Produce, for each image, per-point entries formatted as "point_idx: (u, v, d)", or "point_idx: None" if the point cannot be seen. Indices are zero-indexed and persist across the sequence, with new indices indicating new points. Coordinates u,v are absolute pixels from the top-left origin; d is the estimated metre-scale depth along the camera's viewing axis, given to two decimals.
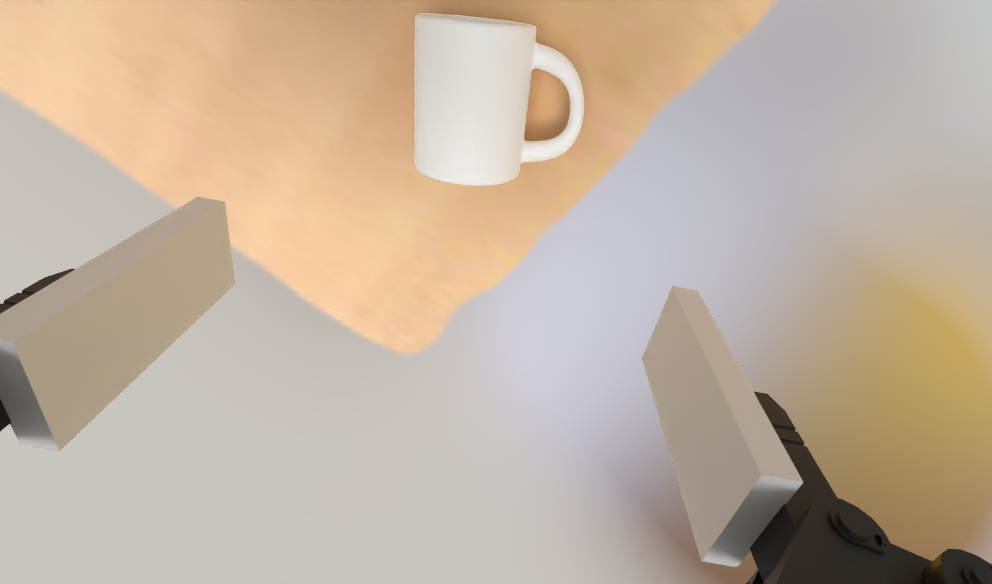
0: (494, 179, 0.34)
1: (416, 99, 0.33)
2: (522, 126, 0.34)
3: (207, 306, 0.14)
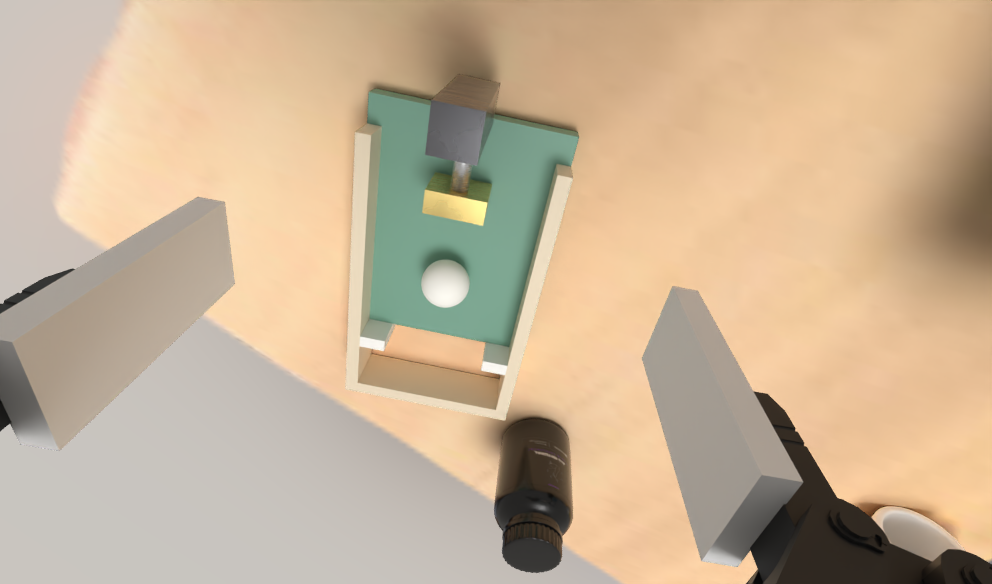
0: None
1: None
2: None
3: (207, 306, 0.14)
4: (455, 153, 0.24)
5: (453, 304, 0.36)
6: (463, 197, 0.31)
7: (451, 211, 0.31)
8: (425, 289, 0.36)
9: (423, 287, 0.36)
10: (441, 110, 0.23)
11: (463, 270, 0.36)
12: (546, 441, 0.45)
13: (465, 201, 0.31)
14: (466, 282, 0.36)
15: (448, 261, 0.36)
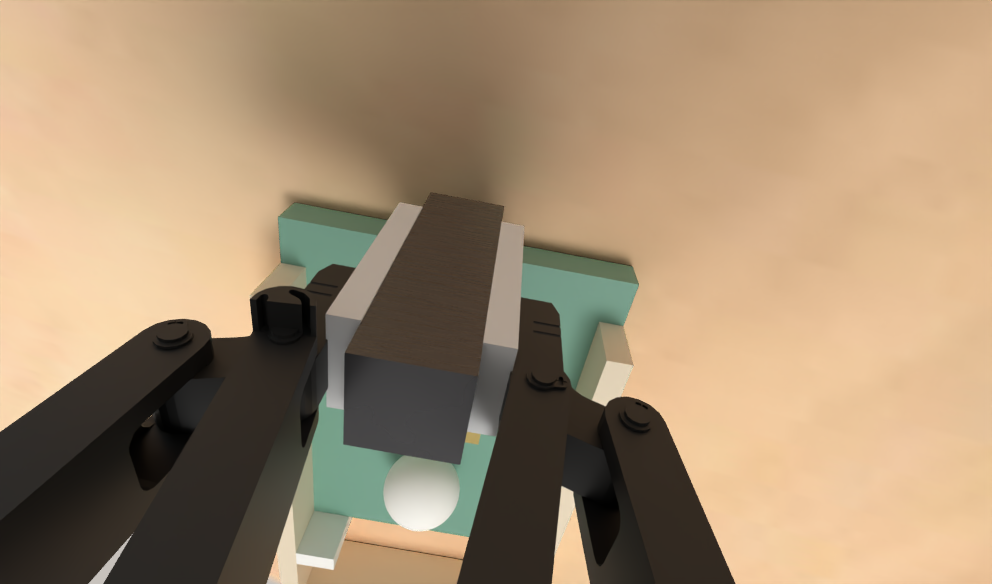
0: None
1: None
2: None
3: None
4: (410, 443, 0.11)
5: (434, 527, 0.23)
6: None
7: None
8: (389, 509, 0.22)
9: (386, 504, 0.23)
10: (371, 372, 0.10)
11: (449, 473, 0.23)
12: None
13: None
14: (455, 493, 0.23)
15: (425, 460, 0.23)
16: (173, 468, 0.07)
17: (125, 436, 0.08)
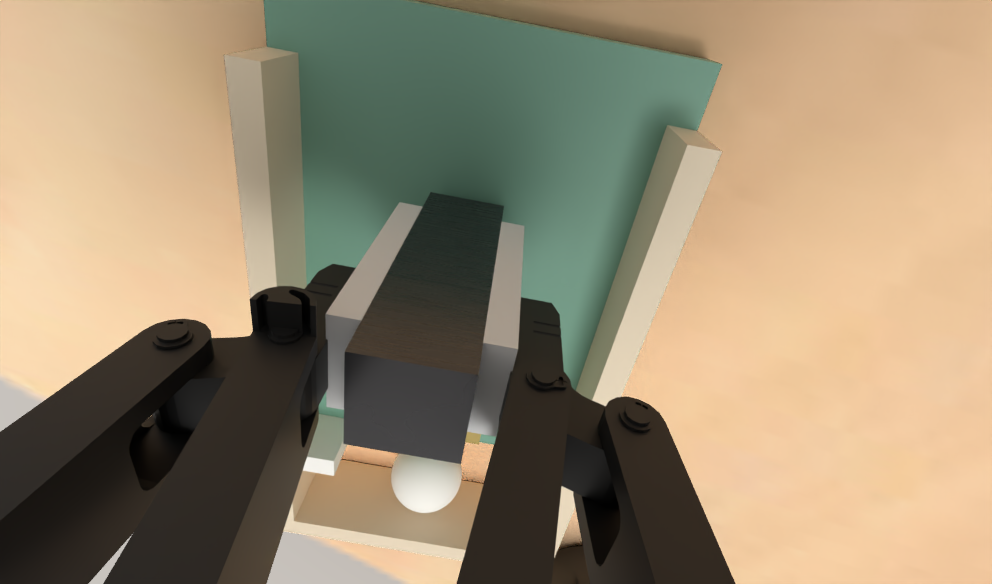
0: None
1: None
2: None
3: None
4: (410, 442, 0.11)
5: (443, 481, 0.24)
6: None
7: None
8: (403, 458, 0.24)
9: (399, 460, 0.24)
10: (371, 371, 0.10)
11: None
12: None
13: None
14: None
15: None
16: (172, 468, 0.07)
17: (125, 436, 0.08)
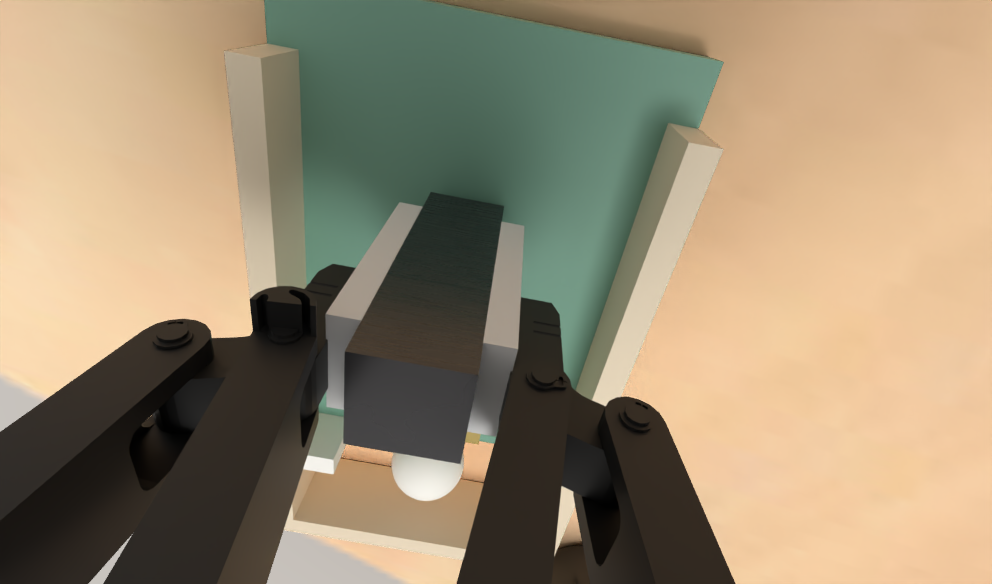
0: None
1: None
2: None
3: None
4: (410, 442, 0.11)
5: None
6: None
7: None
8: None
9: None
10: (371, 370, 0.10)
11: None
12: None
13: None
14: None
15: None
16: (172, 468, 0.07)
17: (125, 436, 0.08)
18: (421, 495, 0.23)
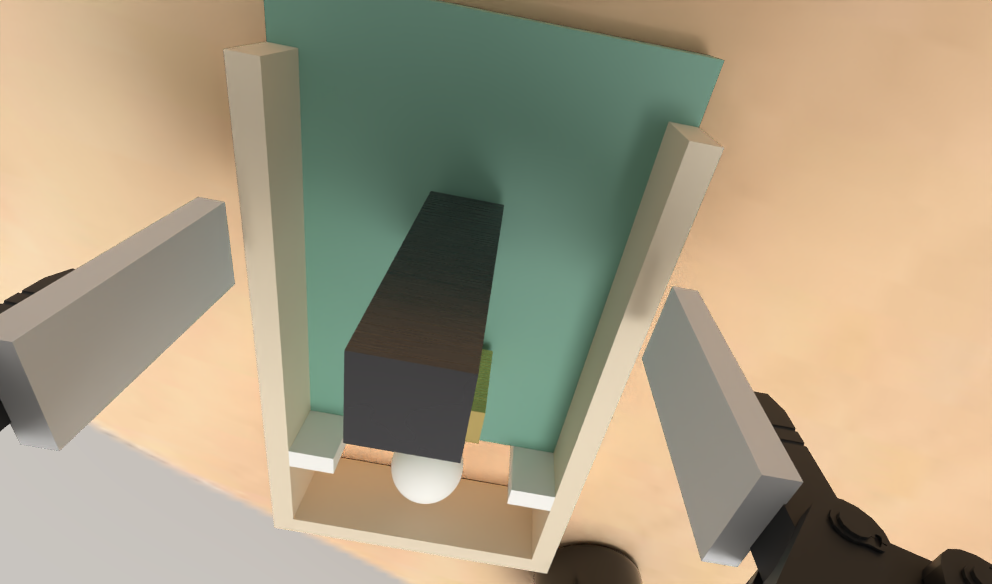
0: None
1: None
2: None
3: (207, 306, 0.14)
4: (409, 442, 0.11)
5: (445, 466, 0.23)
6: None
7: None
8: None
9: None
10: (371, 369, 0.10)
11: None
12: None
13: None
14: None
15: None
16: None
17: None
18: (420, 501, 0.24)
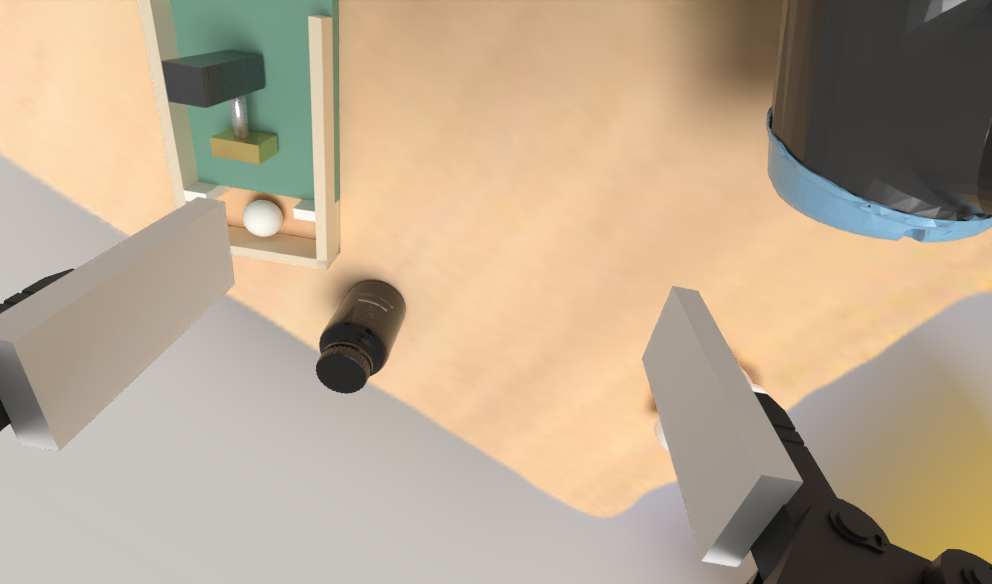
0: None
1: None
2: None
3: (207, 306, 0.14)
4: (188, 99, 0.34)
5: (266, 215, 0.47)
6: (239, 142, 0.41)
7: (233, 154, 0.41)
8: (246, 206, 0.47)
9: None
10: (170, 68, 0.33)
11: None
12: (372, 294, 0.51)
13: (241, 145, 0.41)
14: (281, 212, 0.49)
15: None
16: None
17: None
18: (257, 233, 0.48)
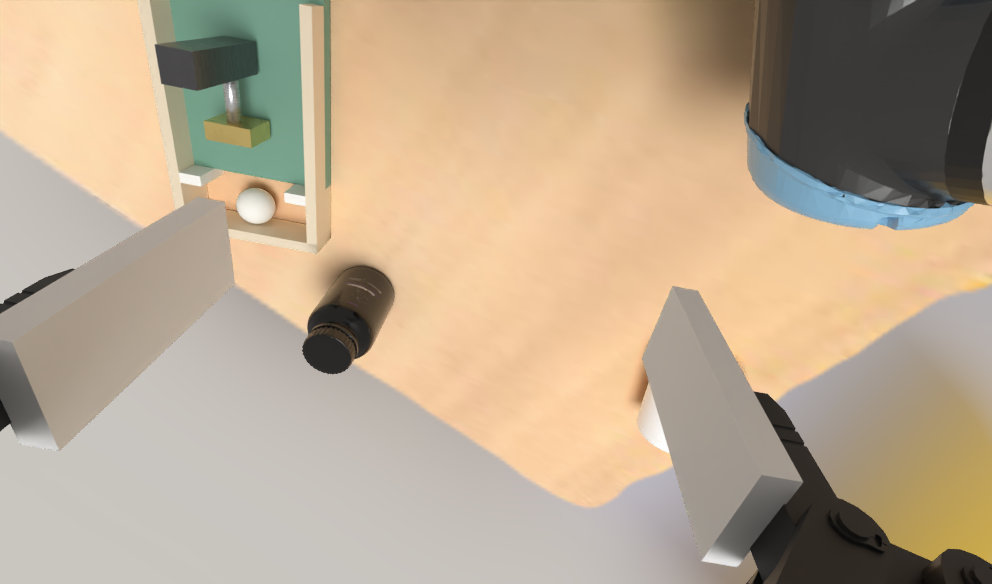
0: None
1: (654, 407, 0.55)
2: None
3: (207, 306, 0.14)
4: (180, 82, 0.35)
5: (258, 206, 0.48)
6: (232, 126, 0.42)
7: (226, 137, 0.43)
8: (239, 195, 0.49)
9: (238, 197, 0.49)
10: (163, 51, 0.34)
11: (272, 198, 0.51)
12: (361, 278, 0.52)
13: (233, 129, 0.42)
14: (273, 200, 0.50)
15: None
16: None
17: None
18: (251, 222, 0.49)
